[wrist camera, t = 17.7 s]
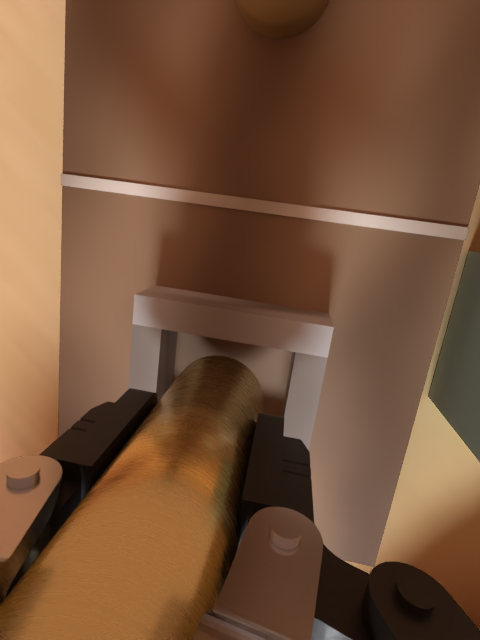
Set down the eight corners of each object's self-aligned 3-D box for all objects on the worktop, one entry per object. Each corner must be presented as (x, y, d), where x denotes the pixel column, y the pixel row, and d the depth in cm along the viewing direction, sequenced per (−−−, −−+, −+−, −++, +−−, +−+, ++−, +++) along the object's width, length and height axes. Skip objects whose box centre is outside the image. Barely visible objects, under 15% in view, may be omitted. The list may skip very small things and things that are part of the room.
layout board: (556, -200, 11) (1115, -1121, 4) (365, 530, 18) (419, 761, 10) (105, -210, 13) (-188, -880, 5) (80, 468, 19) (-63, 629, 12)
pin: (270, 363, 12) (210, 693, 4) (256, 446, 13) (180, 881, 4) (179, 347, 13) (-77, 615, 4) (170, 429, 13) (-60, 804, 5)
